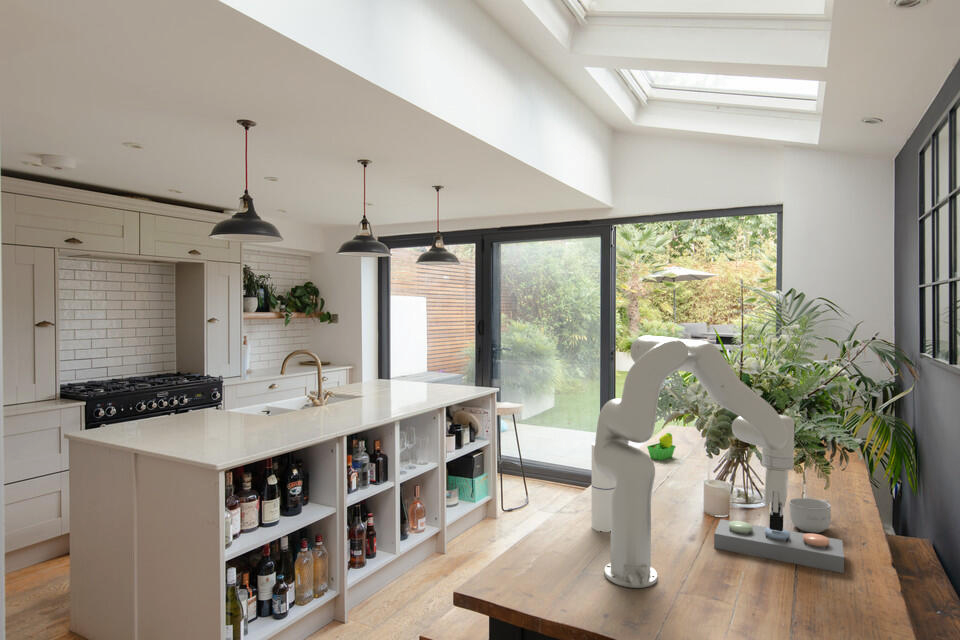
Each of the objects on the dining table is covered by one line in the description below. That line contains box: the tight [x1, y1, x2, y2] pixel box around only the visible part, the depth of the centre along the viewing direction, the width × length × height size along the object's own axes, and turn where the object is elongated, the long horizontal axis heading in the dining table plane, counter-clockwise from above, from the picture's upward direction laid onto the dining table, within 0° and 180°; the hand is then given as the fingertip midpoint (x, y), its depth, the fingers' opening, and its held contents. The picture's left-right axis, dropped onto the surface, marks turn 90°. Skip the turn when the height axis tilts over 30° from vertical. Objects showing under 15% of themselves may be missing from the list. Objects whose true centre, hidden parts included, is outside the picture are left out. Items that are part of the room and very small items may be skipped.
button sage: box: [729, 520, 753, 535], centre depth 160 cm, size 6×6×4 cm
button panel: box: [713, 518, 845, 574], centre depth 155 cm, size 30×12×4 cm, turn 60°
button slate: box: [765, 526, 790, 542], centre depth 155 cm, size 6×6×4 cm
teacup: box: [788, 497, 832, 534], centre depth 171 cm, size 14×11×8 cm
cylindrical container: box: [591, 441, 616, 533], centre depth 172 cm, size 7×7×25 cm
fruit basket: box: [646, 432, 676, 461], centre depth 250 cm, size 11×9×11 cm
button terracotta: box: [803, 532, 829, 549], centre depth 151 cm, size 6×6×4 cm
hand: (776, 529), depth 155 cm, fingers closed
